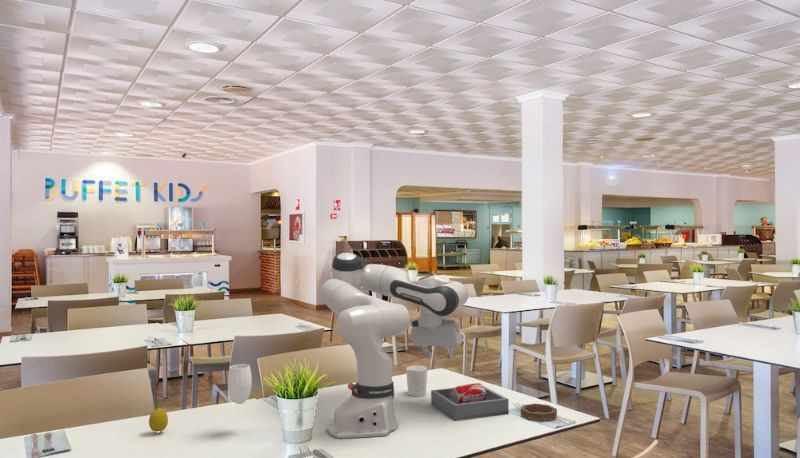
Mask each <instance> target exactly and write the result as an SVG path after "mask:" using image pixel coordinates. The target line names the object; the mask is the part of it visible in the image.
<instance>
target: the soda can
mask: <svg viewBox="0 0 800 458" xmlns="http://www.w3.org/2000/svg"><path fill="white" fill-rule="evenodd" d="M483 386H484V385H483V384H482V383H480V382H476V383H468V384H463V385H457V386H455V387H453V388H454V389H452V390H451V391H450V394H449V397H450V400H451V401H452V402H454V403H455V404H462V403H470V402H479V401H485V399H486V390H485V388H484V387H485V386H484V387H483Z"/></svg>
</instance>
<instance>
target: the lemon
mask: <svg viewBox="0 0 800 458" xmlns="http://www.w3.org/2000/svg"><path fill="white" fill-rule="evenodd" d="M168 423H169V418H168V413H167V411H166V410H165V409H162V408H161V407H157V408H156V409H154V410H153V411H152V412H151V413H150V415H149V418H148V426H149V428H150V429H151V431H152V432H154V431H161V432H163V431H164V430H165V429H166V428H167V426H168ZM162 430H163V431H162Z"/></svg>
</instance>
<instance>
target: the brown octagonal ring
mask: <svg viewBox="0 0 800 458" xmlns="http://www.w3.org/2000/svg"><path fill="white" fill-rule="evenodd" d="M557 413H558V409H557V408H555V407H554V406H552V405H550V404H545V403H544V404H542V403H530V404H529V403H528V404H524V405H523V406H521V408H520V417H521V418H523V419H525V420H527V421H533V422H538V423H545V422H544V421H546V422H552V421H551V420H553V421H555V420H556V418H557V417H558V414H557ZM556 416H557V417H556ZM554 419H555V420H554Z"/></svg>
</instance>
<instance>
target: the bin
mask: <svg viewBox="0 0 800 458" xmlns="http://www.w3.org/2000/svg"><path fill="white" fill-rule="evenodd" d="M483 387H484V388H485V390H486V399H485V401H479V402H470V403H462V404H455V403H454V402H452V401H451V400H450V397H449V394H450V391H451V390H452V389H454V388H455V387H450V388H440V389H431V390H430V400H431V401H430V403H431V405H432V406H433V407H435V409H437V410H438V411H440V412H441V413H443V414H444V415H446V416H447V417H449V418H450V419H452V420H453V421H464V420H471V419H479V418H487V417H494V416H495V417H496V416H500V415H501V416H503V415H508V414H510V413H509V412H510V410H509V407H510V406H509V405H510V404H509V398H508V397H506V396H504V395H502V394H500V393H498V392H496V391H494V390H493V389H490V388H488V387H486V386H484V385H483Z"/></svg>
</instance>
